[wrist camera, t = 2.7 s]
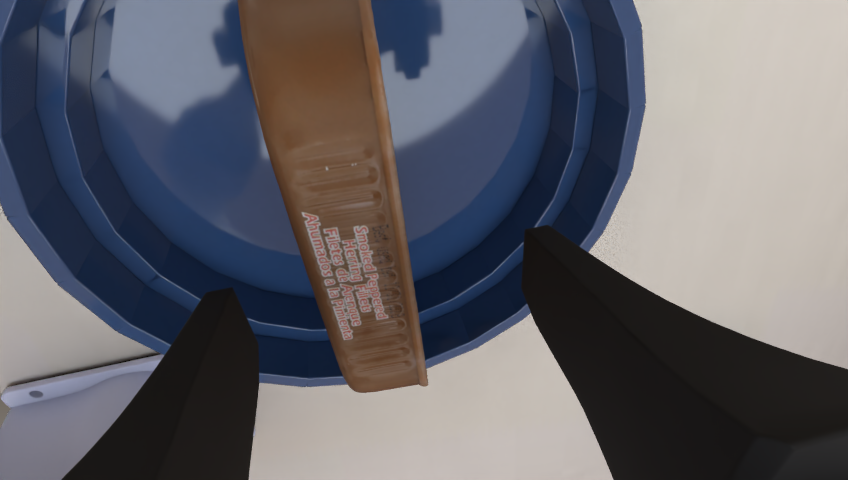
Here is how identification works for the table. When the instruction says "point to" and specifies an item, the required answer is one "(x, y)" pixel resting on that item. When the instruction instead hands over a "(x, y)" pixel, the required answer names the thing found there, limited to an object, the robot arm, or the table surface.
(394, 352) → the tin
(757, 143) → the table surface
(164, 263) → the bowl
